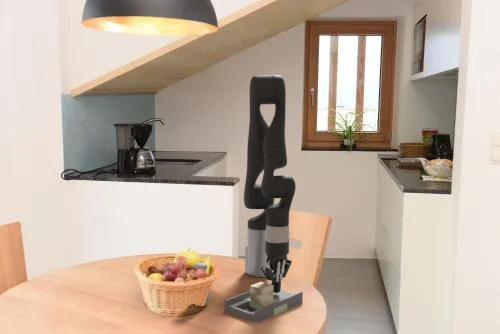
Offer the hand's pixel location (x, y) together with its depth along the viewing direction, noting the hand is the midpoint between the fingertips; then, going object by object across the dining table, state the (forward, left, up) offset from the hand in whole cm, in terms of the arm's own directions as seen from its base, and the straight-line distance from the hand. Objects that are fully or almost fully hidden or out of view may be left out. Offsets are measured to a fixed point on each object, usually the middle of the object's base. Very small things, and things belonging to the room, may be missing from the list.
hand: (276, 292), depth 172 cm
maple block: (0, -8, -1) cm, 8 cm away
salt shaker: (-15, -18, -3) cm, 24 cm away
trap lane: (+1, -6, -3) cm, 7 cm away
